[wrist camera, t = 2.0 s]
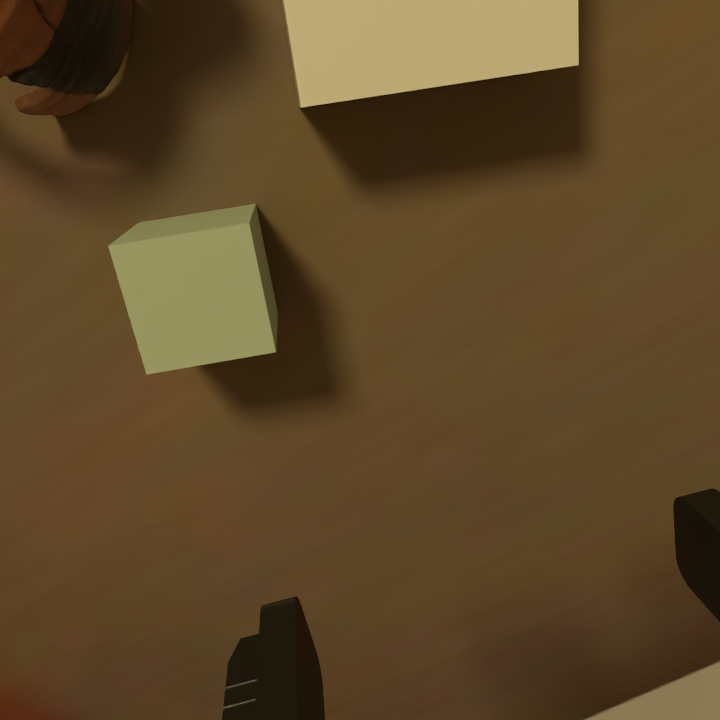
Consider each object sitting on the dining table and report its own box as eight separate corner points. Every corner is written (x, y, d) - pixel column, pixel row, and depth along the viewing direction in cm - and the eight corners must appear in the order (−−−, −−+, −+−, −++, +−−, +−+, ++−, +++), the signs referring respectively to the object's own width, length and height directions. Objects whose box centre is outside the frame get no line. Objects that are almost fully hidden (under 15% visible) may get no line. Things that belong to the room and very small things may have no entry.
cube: (139, 222, 27) (108, 246, 22) (255, 203, 27) (249, 223, 22) (169, 331, 29) (146, 374, 24) (278, 313, 29) (276, 352, 24)
